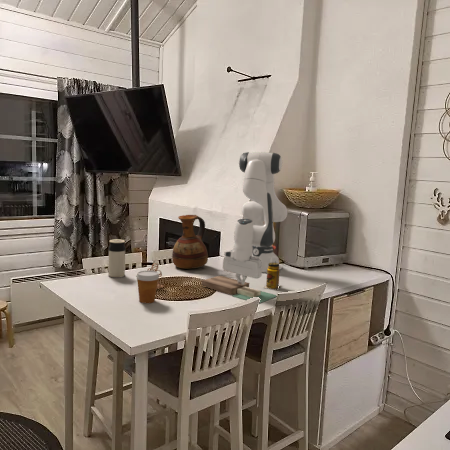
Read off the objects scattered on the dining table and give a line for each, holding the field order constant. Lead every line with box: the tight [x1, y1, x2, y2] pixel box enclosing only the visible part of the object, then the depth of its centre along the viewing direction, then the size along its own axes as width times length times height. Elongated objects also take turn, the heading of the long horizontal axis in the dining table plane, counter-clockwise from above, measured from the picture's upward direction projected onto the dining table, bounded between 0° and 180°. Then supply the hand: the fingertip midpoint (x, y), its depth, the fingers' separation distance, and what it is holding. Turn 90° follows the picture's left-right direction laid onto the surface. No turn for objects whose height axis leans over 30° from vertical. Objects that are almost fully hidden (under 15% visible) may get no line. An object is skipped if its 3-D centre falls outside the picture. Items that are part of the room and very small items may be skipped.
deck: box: [200, 275, 250, 296], centre depth 201 cm, size 14×18×3 cm
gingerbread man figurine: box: [146, 262, 165, 288], centre depth 193 cm, size 9×4×12 cm, turn 138°
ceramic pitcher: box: [171, 214, 209, 270], centre depth 236 cm, size 20×20×30 cm
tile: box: [236, 286, 262, 298], centre depth 192 cm, size 6×9×2 cm, turn 51°
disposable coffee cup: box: [135, 270, 160, 304], centre depth 175 cm, size 10×10×12 cm
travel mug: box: [107, 238, 126, 278], centre depth 211 cm, size 8×8×18 cm
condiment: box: [263, 263, 283, 291], centre depth 206 cm, size 7×8×12 cm
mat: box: [232, 290, 277, 304], centre depth 191 cm, size 16×14×1 cm
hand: (240, 283), depth 195 cm, fingers closed
